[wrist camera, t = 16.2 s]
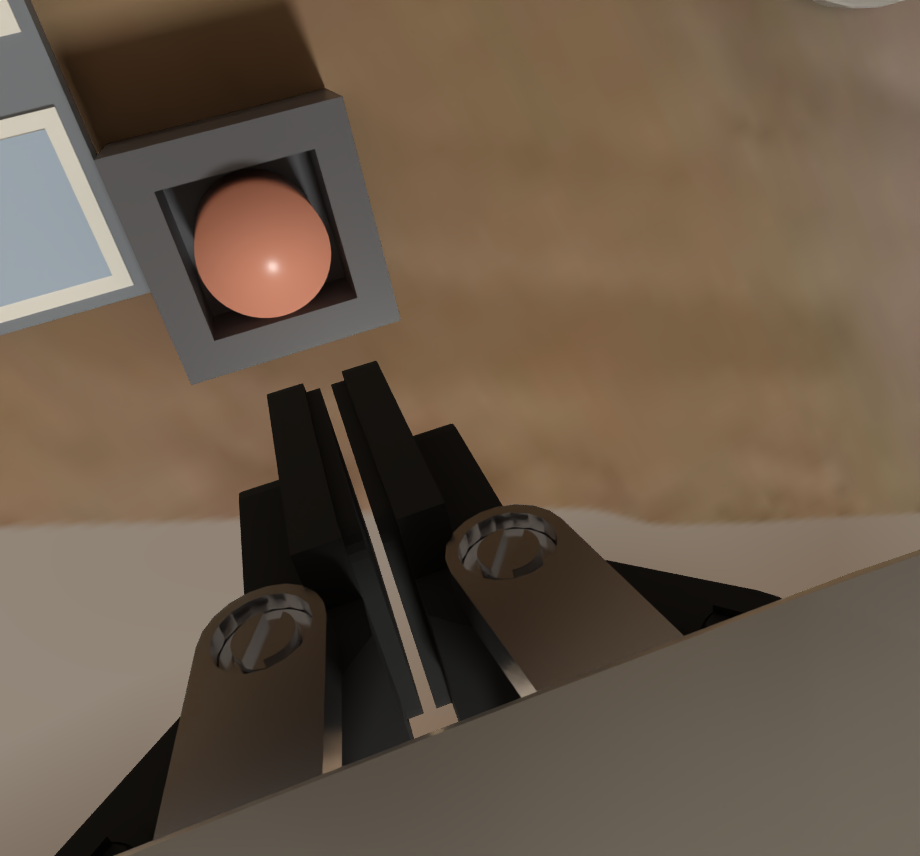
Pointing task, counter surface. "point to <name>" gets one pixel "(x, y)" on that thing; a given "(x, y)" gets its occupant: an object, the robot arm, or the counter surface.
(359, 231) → the button box
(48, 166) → the picture board
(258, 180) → the button
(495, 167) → the counter surface
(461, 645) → the robot arm
